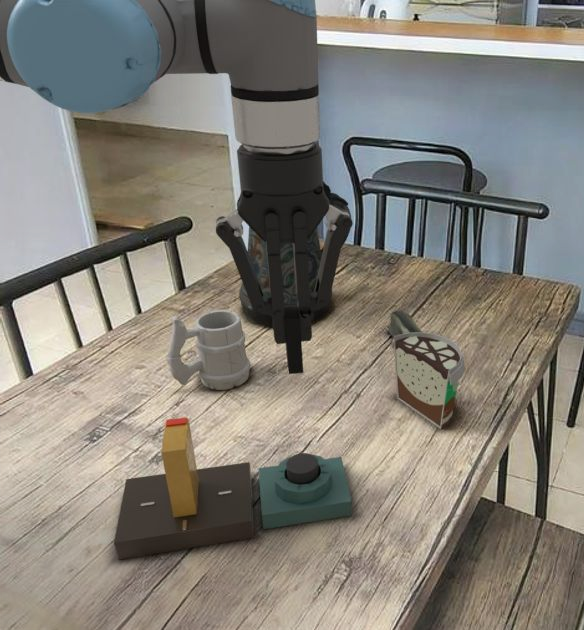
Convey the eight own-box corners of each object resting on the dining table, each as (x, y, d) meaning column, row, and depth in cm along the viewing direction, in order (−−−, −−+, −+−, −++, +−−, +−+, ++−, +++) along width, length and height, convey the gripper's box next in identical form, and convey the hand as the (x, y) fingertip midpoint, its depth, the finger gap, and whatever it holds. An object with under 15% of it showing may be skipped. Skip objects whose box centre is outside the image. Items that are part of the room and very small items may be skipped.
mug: (260, 380, 103) (252, 309, 97) (182, 406, 96) (169, 332, 91) (239, 358, 108) (231, 290, 102) (164, 382, 102) (151, 310, 96)
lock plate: (118, 559, 72) (113, 541, 70) (129, 495, 80) (125, 477, 79) (254, 537, 75) (252, 519, 74) (251, 477, 83) (249, 460, 82)
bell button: (288, 487, 77) (287, 475, 76) (286, 466, 80) (285, 455, 79) (320, 482, 78) (319, 470, 77) (316, 462, 81) (316, 450, 80)
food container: (480, 417, 96) (485, 356, 91) (448, 434, 92) (451, 371, 87) (422, 379, 104) (424, 322, 99) (390, 394, 100) (391, 335, 96)
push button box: (263, 529, 76) (260, 502, 74) (260, 482, 83) (257, 456, 81) (351, 515, 78) (351, 488, 76) (341, 470, 85) (340, 444, 83)
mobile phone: (440, 343, 104) (398, 301, 116) (422, 348, 103) (381, 304, 114) (438, 371, 106) (397, 327, 118) (421, 375, 105) (381, 330, 117)
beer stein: (222, 307, 123) (205, 171, 112) (306, 276, 136) (299, 151, 125) (279, 339, 114) (267, 194, 102) (363, 302, 126) (361, 170, 115)
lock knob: (196, 514, 74) (185, 447, 70) (173, 517, 74) (160, 450, 70) (198, 481, 79) (188, 416, 75) (177, 483, 79) (165, 418, 74)
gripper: (345, 131, 66) (350, 343, 77) (204, 136, 63) (231, 355, 74) (358, 151, 59) (362, 378, 70) (202, 156, 56) (231, 393, 67)
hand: (295, 366), depth 72 cm, fingers closed
